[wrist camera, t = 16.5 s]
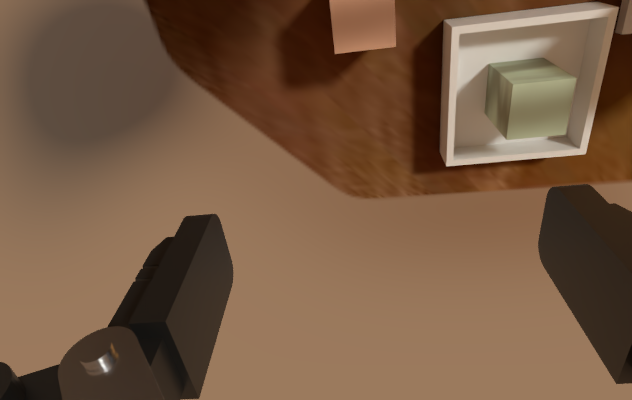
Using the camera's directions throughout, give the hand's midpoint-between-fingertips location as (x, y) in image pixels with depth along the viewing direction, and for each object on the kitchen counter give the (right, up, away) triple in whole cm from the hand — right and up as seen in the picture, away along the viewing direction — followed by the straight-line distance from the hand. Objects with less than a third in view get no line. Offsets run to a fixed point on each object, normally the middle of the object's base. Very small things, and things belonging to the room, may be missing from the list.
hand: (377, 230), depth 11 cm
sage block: (+16, +11, +27) cm, 33 cm away
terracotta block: (+2, +17, +25) cm, 30 cm away
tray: (+16, +11, +28) cm, 34 cm away
